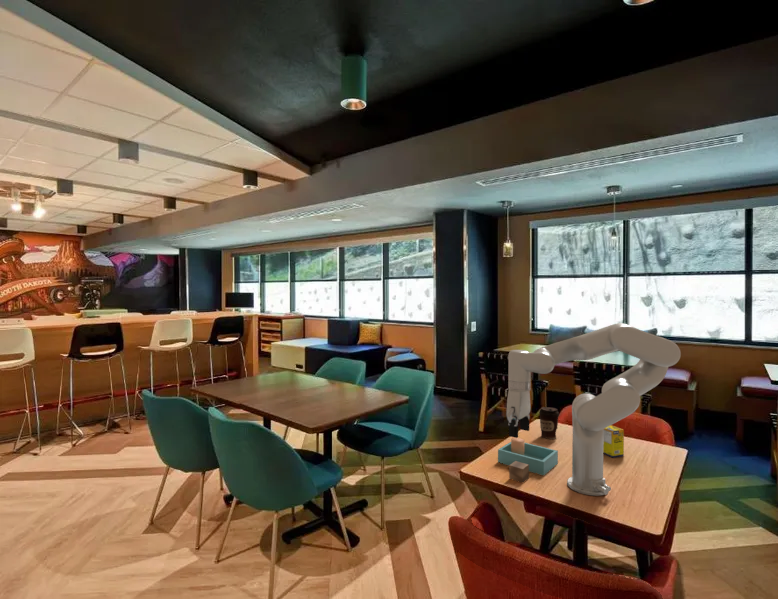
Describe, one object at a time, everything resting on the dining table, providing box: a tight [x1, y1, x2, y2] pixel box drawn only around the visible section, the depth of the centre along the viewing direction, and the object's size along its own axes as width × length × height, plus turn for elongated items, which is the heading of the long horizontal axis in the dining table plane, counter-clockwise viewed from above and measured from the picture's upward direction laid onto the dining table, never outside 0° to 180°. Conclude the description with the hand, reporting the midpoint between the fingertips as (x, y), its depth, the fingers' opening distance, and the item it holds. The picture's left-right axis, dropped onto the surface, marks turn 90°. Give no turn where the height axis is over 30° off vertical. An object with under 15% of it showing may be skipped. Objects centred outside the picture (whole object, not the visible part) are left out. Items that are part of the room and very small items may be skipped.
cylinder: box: [510, 437, 525, 455], centre depth 166 cm, size 5×5×7 cm
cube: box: [508, 461, 530, 483], centre depth 150 cm, size 5×5×5 cm
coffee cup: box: [538, 406, 560, 440], centre depth 192 cm, size 9×8×13 cm
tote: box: [497, 441, 559, 476], centre depth 164 cm, size 18×14×5 cm
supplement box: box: [603, 424, 625, 459], centre depth 172 cm, size 6×6×11 cm
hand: (519, 433), depth 150 cm, fingers open, 8 cm apart
